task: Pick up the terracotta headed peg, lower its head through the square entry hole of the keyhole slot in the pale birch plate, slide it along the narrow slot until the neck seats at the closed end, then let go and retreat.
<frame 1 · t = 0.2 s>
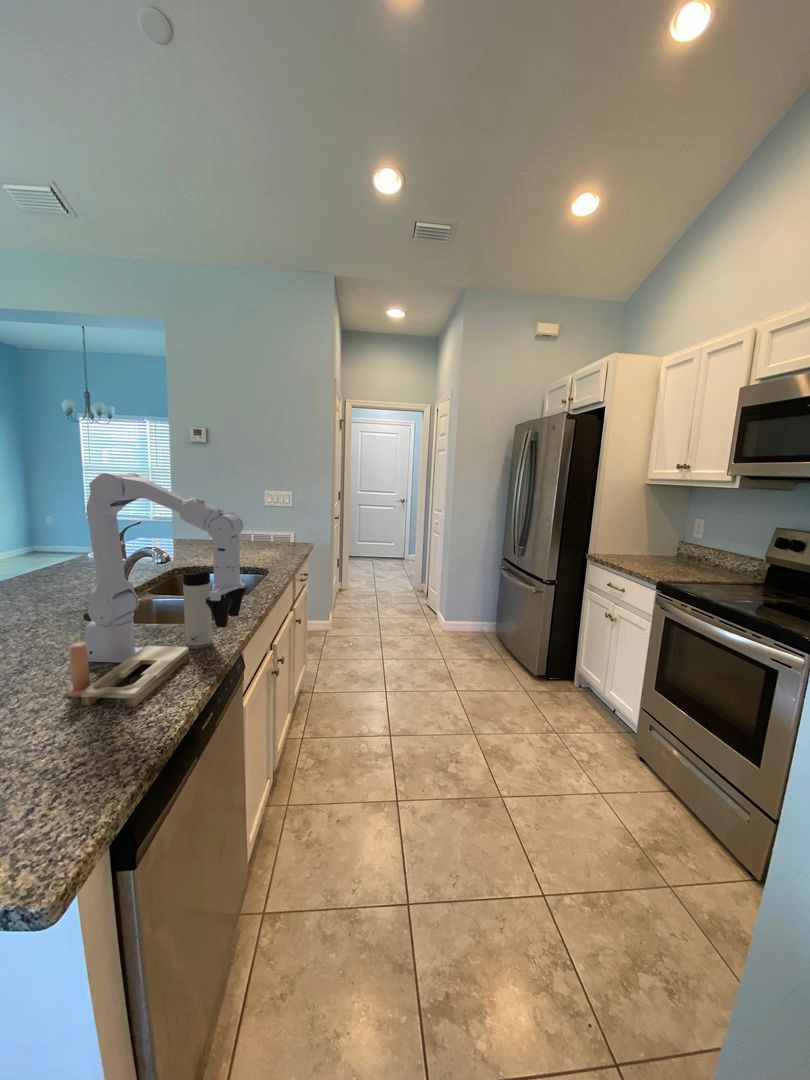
hand: (227, 621, 103), 10 cm above the countertop, fingers open, 7 cm apart
keyhole plate: (141, 679, 94), on the countertop
travel mug: (199, 645, 113), on the countertop
terracotta peg: (82, 691, 88), on the countertop
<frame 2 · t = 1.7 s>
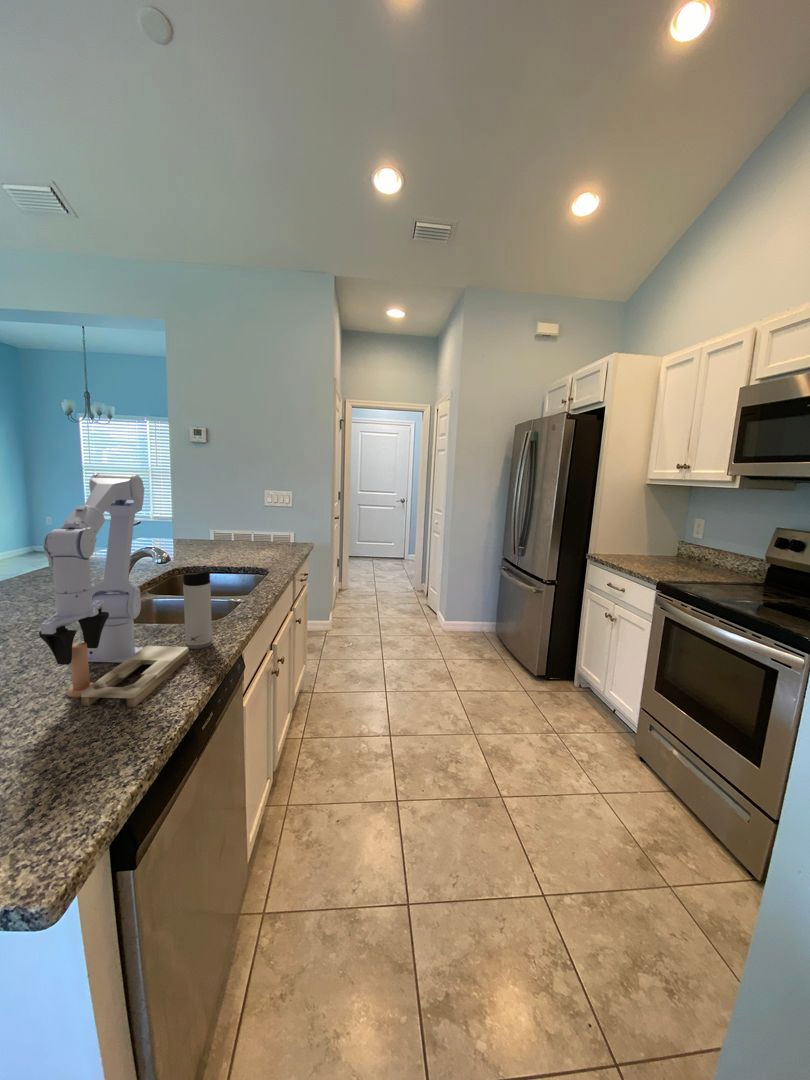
hand: (78, 655, 86), 8 cm above the countertop, fingers open, 7 cm apart
nothing on the countertop moved.
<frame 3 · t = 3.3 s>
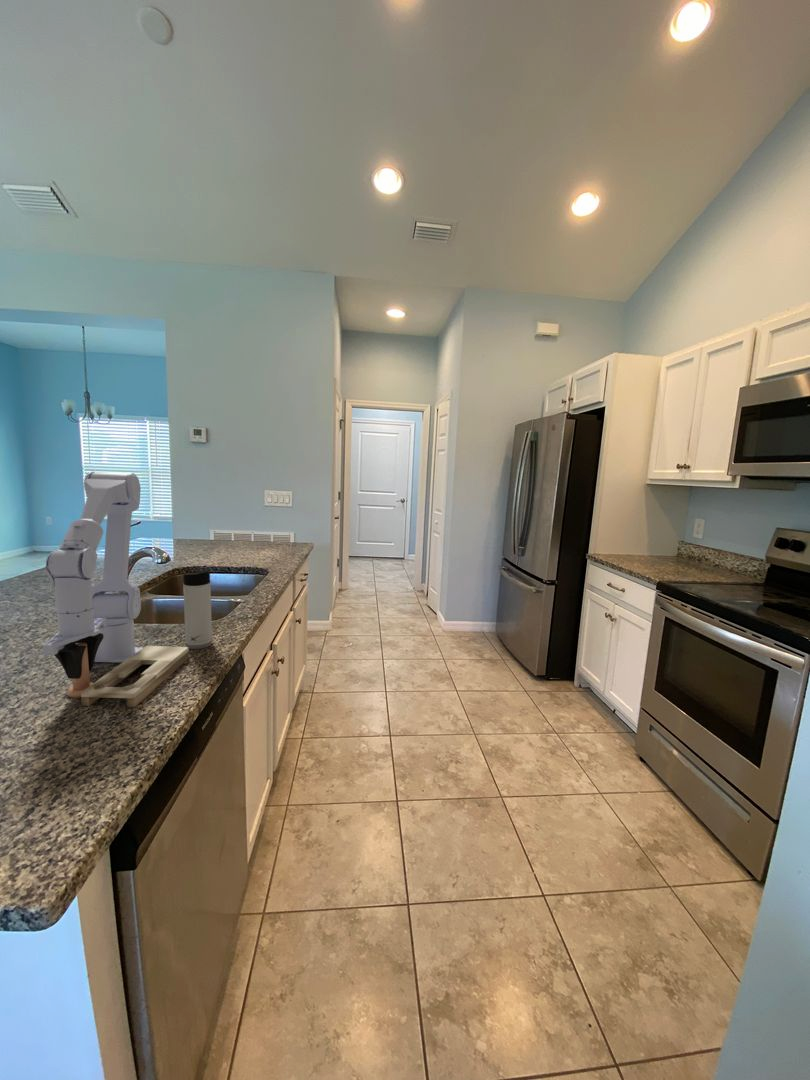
hand: (80, 673, 87), 4 cm above the countertop, fingers closed on terracotta peg, 3 cm apart
terracotta peg: (82, 691, 88), on the countertop, touching gripper
everything else where it was.
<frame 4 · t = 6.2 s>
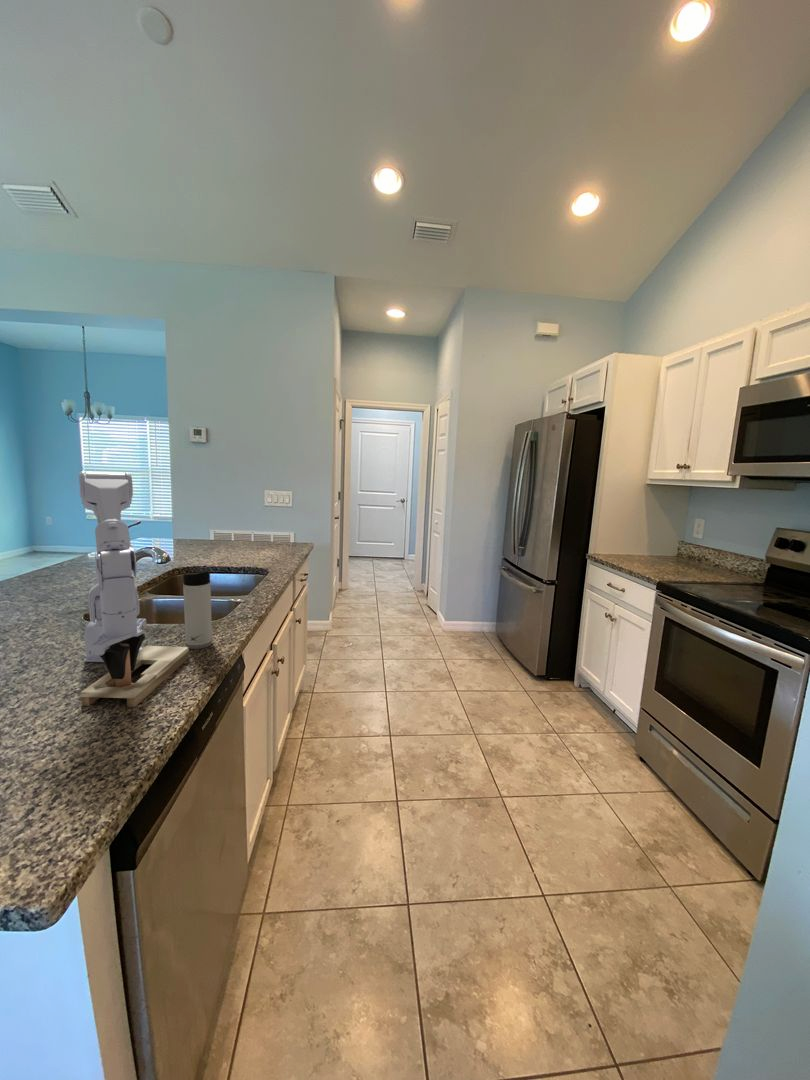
hand: (123, 674, 87), 4 cm above the countertop, fingers closed on terracotta peg, 3 cm apart
terracotta peg: (123, 692, 88), resting in keyhole plate, touching gripper
everything else where it was.
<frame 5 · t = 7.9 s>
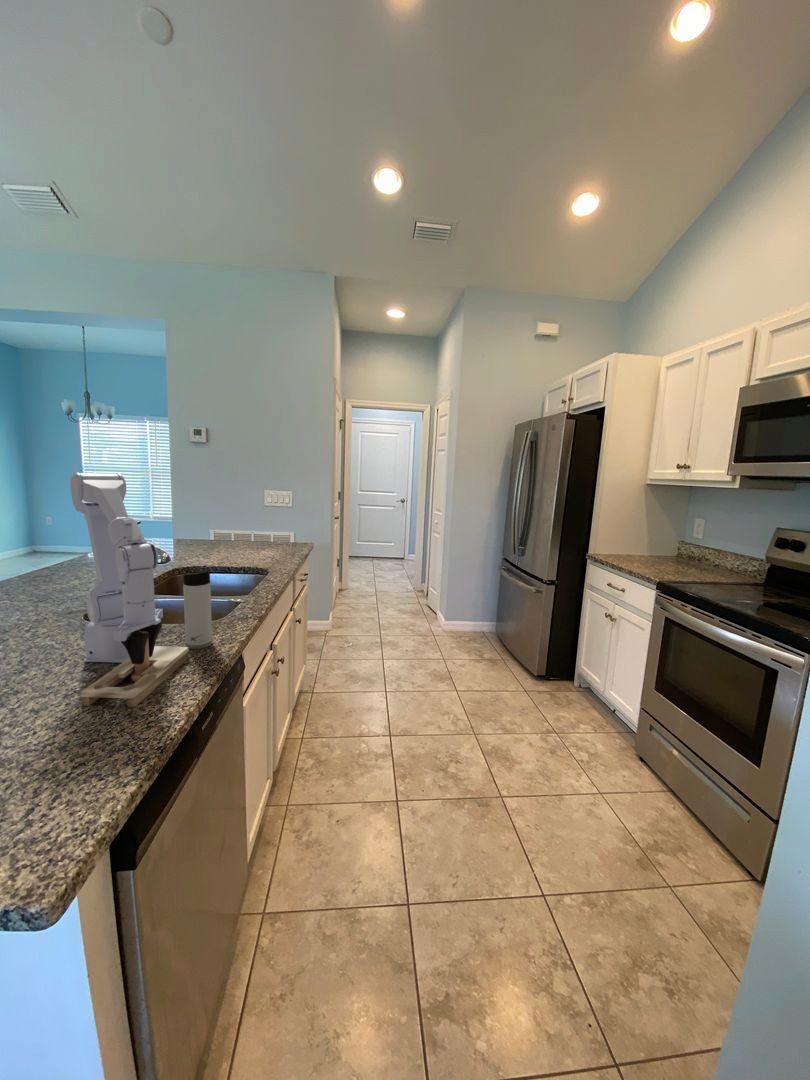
hand: (142, 659, 94), 4 cm above the countertop, fingers closed on terracotta peg, 3 cm apart
terracotta peg: (142, 676, 95), resting in keyhole plate, touching gripper
everything else where it was.
when the fingers open (4 cm above the countertop, at t = 9.3 s): terracotta peg stays where it is, resting in keyhole plate.
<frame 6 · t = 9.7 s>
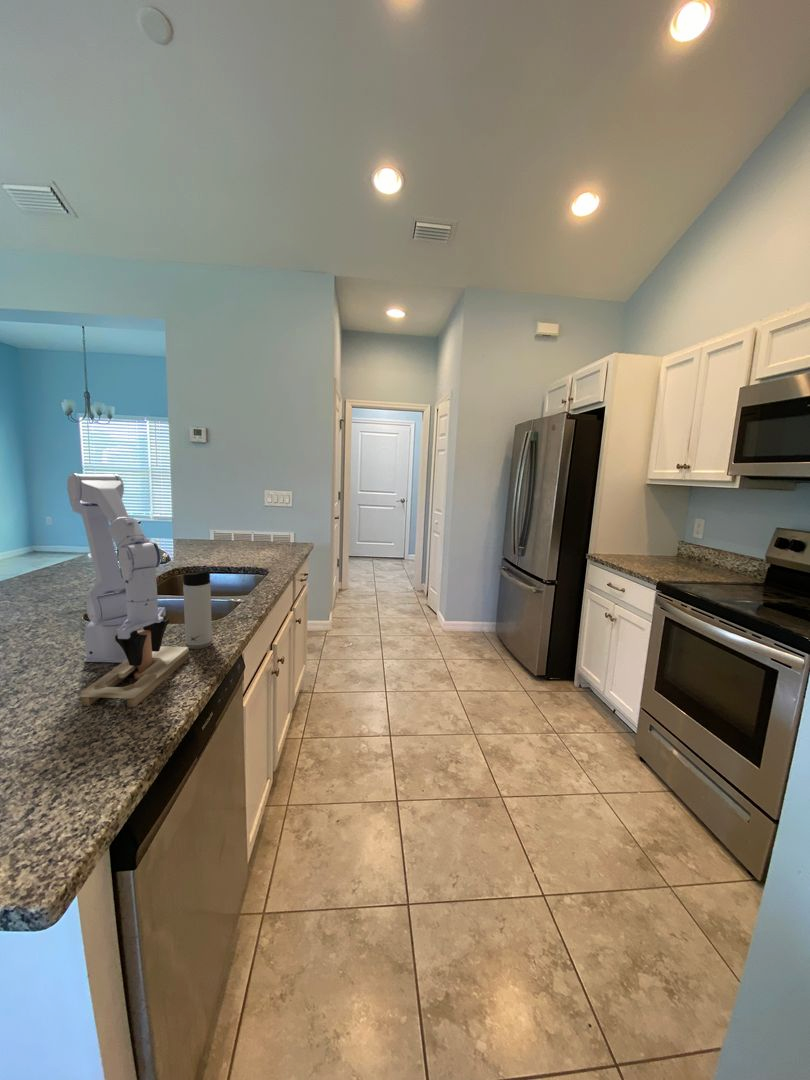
hand: (145, 657, 95), 4 cm above the countertop, fingers open, 7 cm apart
terracotta peg: (145, 675, 96), resting in keyhole plate
everything else where it was.
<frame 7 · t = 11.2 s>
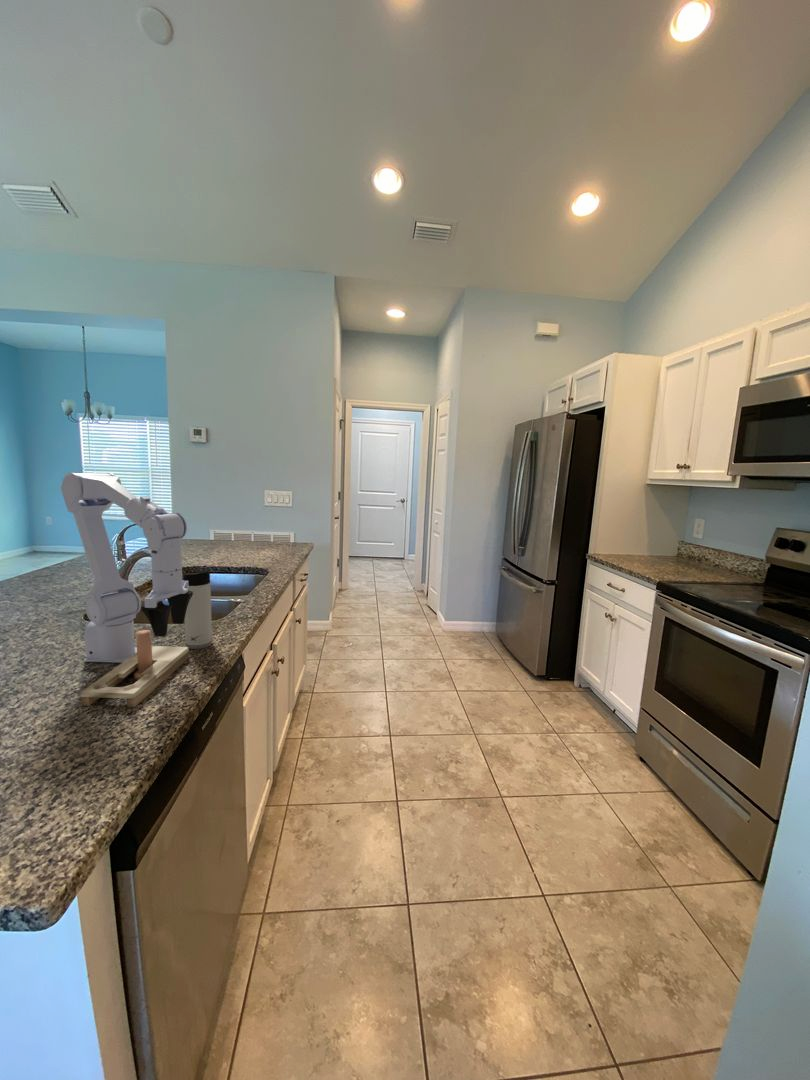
hand: (169, 629, 95), 10 cm above the countertop, fingers open, 7 cm apart
nothing on the countertop moved.
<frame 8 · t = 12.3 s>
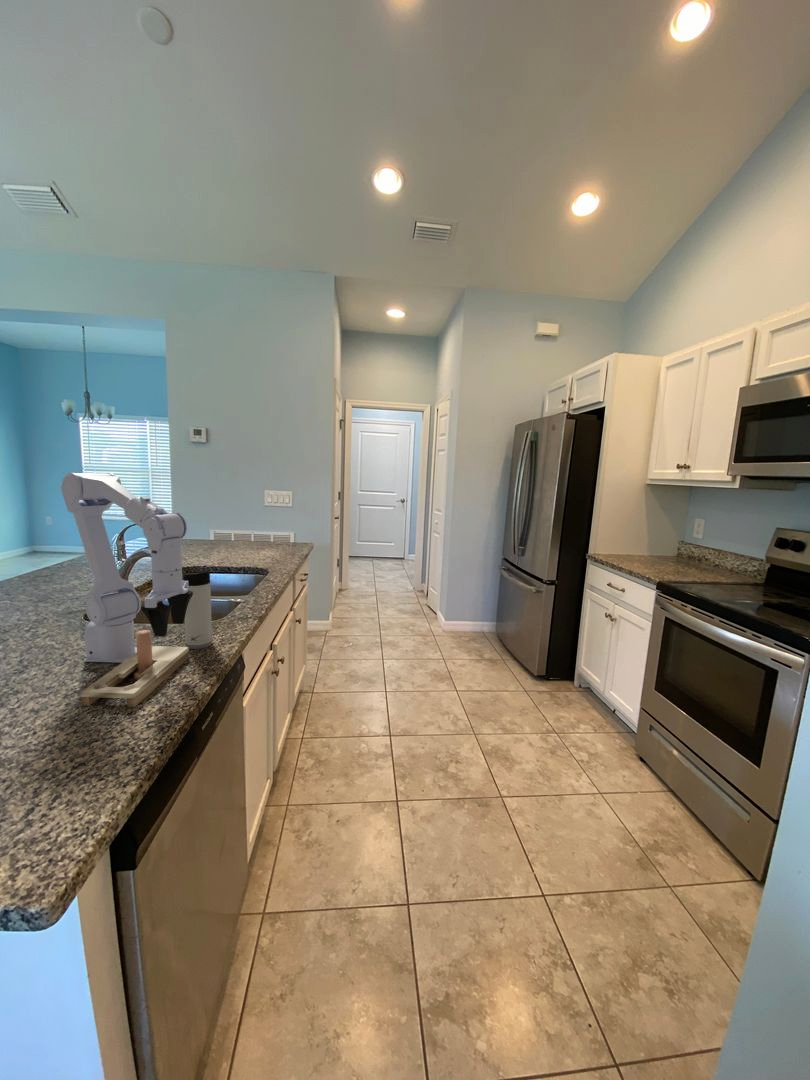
hand: (169, 629, 95), 10 cm above the countertop, fingers open, 7 cm apart
nothing on the countertop moved.
at the end: terracotta peg 0.2 cm from the target spot on the keyhole plate, point 0.0 cm above the keyhole plate's base; terracotta peg tilted 0°; the gripper is holding nothing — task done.
